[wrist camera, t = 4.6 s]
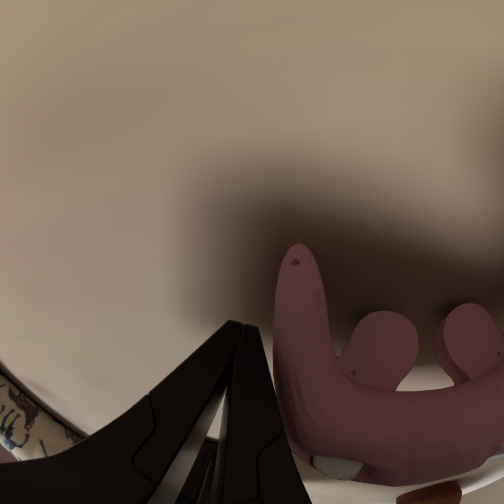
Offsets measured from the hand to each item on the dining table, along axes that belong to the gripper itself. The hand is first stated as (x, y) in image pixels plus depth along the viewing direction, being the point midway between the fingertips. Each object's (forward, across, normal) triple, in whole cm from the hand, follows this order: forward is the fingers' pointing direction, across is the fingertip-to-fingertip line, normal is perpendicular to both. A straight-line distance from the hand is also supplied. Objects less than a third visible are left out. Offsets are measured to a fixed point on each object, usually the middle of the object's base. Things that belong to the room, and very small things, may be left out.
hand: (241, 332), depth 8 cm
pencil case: (+2, +24, +28) cm, 37 cm away
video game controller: (+2, -6, -1) cm, 6 cm away
